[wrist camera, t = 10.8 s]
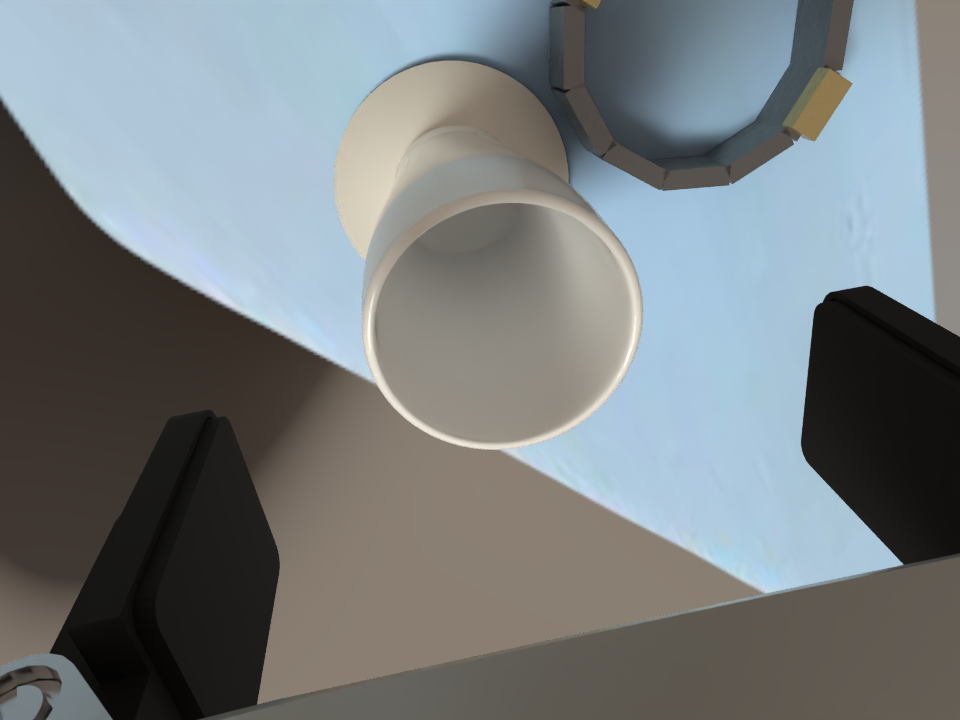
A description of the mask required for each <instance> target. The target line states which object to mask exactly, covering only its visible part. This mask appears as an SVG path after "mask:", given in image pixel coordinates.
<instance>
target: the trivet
mask: <svg viewBox="0 0 960 720" xmlns="http://www.w3.org/2000/svg"><path fill="white" fill-rule="evenodd" d="M449 125H465V126H471V127H475V128H478V129H481V130H483V131H485V132H488V133H489V134H491V135H493V136H494V137H495V138H497V139H498V140H499V141H500V142H501V143H502V144H504V145H505V146H507V147H509V148H511V149H513V150H515V151H516V152H519V153H521V154H523V155H525V156H527V157H529V158H531V159H533V160H534V161H536V162H538V163H540V164H541V165H543V166H545V167H546V168H548V169H550V170H551V171H553V172H554V173H556V174H557V175H558V176H560V177H561V178H562V179H564V180H565V181H566V182H567V183H569V175H568V162H567V157H566V152H565V147H564V144H563V141H562V138H561V135H560V133H559V131H558V129H557V127H556V125H555V123H554V121H553V119H552V117H551V116H550V114H549V113H548V111H547V110H546V108H545V107H544V106H543V104H542V103H541V102H540V101H539V100H538V99H537V98H536V96H535V95H534V94H533V93H532V92H530V91H529V90H528V89H527V88H526V87H525V86H523V85H522V84H521V83H519V82H518V81H516V80H515V79H513V78H512V77H510V76H509V75H507V74H504V73H502V72H500V71H498V70H496V69H494V68H491V67H488V66H485V65H481V64H478V63H474V62H467V61H460V60H442V61H435V62H428V63H424V64H421V65H417V66H414V67H411V68H408V69H406V70H404V71H402V72H400V73H397V74H396V75H394V76H392V77H391V78H389V79H388V80H386V81H385V82H383V83H382V84H381V85H379V86H378V87H377V88H376V89H375V90H374V91H372V92H371V93H370V94H369V95H368V97H367V98H366V99H365V100H364V101H363V102H362V103H361V104H360V106H359V107H358V109H357V110H356V112H355V113H354V115H353V116H352V118H351V119H350V121H349V123H348V125H347V127H346V130H345V132H344V134H343V136H342V139H341V142H340V145H339V148H338V152H337V158H336V163H335V173H334V188H335V199H336V204H337V208H338V213H339V216H340V219H341V222H342V224H343V227H344V229H345V231H346V233H347V235H348V237H349V239H350V241H351V243H352V244H353V246H354V247H355V249H356V250H357V252H358V253H359V254H360V256H361V257H362V258H363V259H364V260H365V261H366V257H367V251H368V247H369V244H370V240H371V236H372V233H373V230H374V227H375V225H376V222H377V220H378V217H379V215H380V213H381V210H382V208H383V206H384V204H385V202H386V200H387V197H388V195H389V193H390V191H391V189H392V186H393V182H394V177H395V173H396V169H397V167H398V164H399V162H400V160H401V158H402V156H403V155H404V153H405V152H406V151H407V149H408V148H409V147H410V146H411V145H412V144H413V143H414V142H415V141H416V140H417V139H418V138H420V137H421V136H423V135H424V134H426V133H428V132H430V131H432V130H434V129H437V128H440V127H444V126H449Z"/></svg>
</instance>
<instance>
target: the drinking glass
mask: <svg viewBox="0 0 960 720" xmlns="http://www.w3.org/2000/svg"><path fill="white" fill-rule="evenodd" d="M642 321H643V302H642V293H641V287H640V283H639V279H638V276H637V272H636V270H635V267H634V265H633V262H632V260H631V258H630V256H629V255H628V253H627V251H626V249H625V248H624V246H623V245H622V243H621V242H620V240H619V239H618V238H617V236H616V235H615V234H614V233H613V232H612V230H611V229H610V227H609V226H608V225H607V223H606V222H605V221H604V220H603V218H602V217H601V216H600V215H599V214H598V213H597V211H596V210H595V209H594V208H593V207H592V206H591V205H590V203H589V202H588V201H587V200H586V199H585V198H584V197H583V196H582V195H581V194H580V193H579V192H577V191H576V190H575V189H574V188H573V187H572V186H571V185H570V184H569V183H567V182H566V181H565V180H564V179H562V178H561V177H560V176H558V175H557V174H556V173H554V172H553V171H551V170H550V169H548V168H546V167H545V166H543V165H541V164H540V163H538V162H536V161H534V160H533V159H531V158H529V157H527V156H525V155H523V154H521V153H519V152H516V151H515V150H513V149H511V148H509V147H507V146H505V145H504V144H502V143H501V142H500V141H499V140H498V139H497V138H495V137H494V136H493V135H491V134H489V133H488V132H485V131H483V130H481V129H478V128H475V127H471V126H465V125H449V126H444V127H440V128H437V129H434V130H432V131H430V132H428V133H426V134H424V135H423V136H421V137H420V138H418V139H417V140H416V141H415V142H414V143H413V144H412V145H411V146H410V147H409V148H408V149H407V151H406V152H405V153H404V155H403V156H402V158H401V160H400V162H399V164H398V167H397V169H396V173H395V177H394V182H393V186H392V189H391V191H390V193H389V195H388V197H387V200H386V202H385V204H384V206H383V208H382V210H381V213H380V215H379V217H378V220H377V222H376V225H375V227H374V230H373V233H372V236H371V240H370V244H369V247H368V251H367V257H366V262H365V268H364V276H363V289H362V339H363V345H364V351H365V355H366V359H367V363H368V365H369V368H370V371H371V373H372V376H373V378H374V380H375V381H376V383H377V385H378V387H379V389H380V390H381V392H382V393H383V395H384V396H385V398H386V399H387V400H388V401H389V402H390V404H391V405H392V406H393V407H394V408H395V409H396V410H397V411H398V412H399V413H400V414H401V415H402V416H403V417H404V418H406V419H407V420H408V421H409V422H410V423H412V424H413V425H415V426H416V427H418V428H419V429H421V430H422V431H424V432H426V433H428V434H430V435H432V436H434V437H436V438H438V439H441V440H444V441H446V442H449V443H452V444H455V445H460V446H464V447H469V448H476V449H489V450H498V449H512V448H519V447H524V446H530V445H533V444H537V443H540V442H543V441H546V440H549V439H551V438H554V437H556V436H558V435H560V434H563V433H565V432H567V431H568V430H570V429H572V428H574V427H575V426H577V425H578V424H580V423H581V422H583V421H584V420H586V419H587V418H588V417H589V416H591V415H592V414H593V413H594V412H596V411H597V410H598V409H599V408H600V407H601V406H602V405H603V404H604V403H605V402H606V401H607V400H608V399H609V397H610V396H611V395H612V394H613V393H614V392H615V390H616V389H617V387H618V386H619V385H620V383H621V382H622V380H623V378H624V377H625V375H626V373H627V372H628V370H629V368H630V365H631V363H632V361H633V359H634V356H635V353H636V351H637V348H638V344H639V340H640V336H641V330H642Z"/></svg>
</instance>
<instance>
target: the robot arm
mask: <svg viewBox="0 0 960 720" xmlns="http://www.w3.org/2000/svg"><path fill="white" fill-rule="evenodd" d="M801 447H802V452H803V455H804V457H805V459H806V461H807V462H808V464H809V465H810V466H811V467H812V468H813V469H814V470H815V471H816V472H817V473H818V474H819V475H820V477H821V478H822V479H823V480H824V481H825V482H826V483H827V484H828V485H829V486H830V487H831V488H832V489H833V490H834V491H835V492H836V493H837V494H838V496H839V497H840V498H841V499H842V500H843V501H844V502H845V503H846V504H847V505H848V506H849V507H850V508H851V509H852V510H853V511H854V512H855V513H856V515H857V516H858V517H859V518H860V519H861V520H862V521H863V522H864V523H865V524H866V525H867V526H868V527H869V528H870V529H871V530H872V531H873V533H874V534H875V535H876V536H877V537H878V538H879V539H880V540H881V541H882V542H883V543H884V544H885V545H886V546H887V547H888V548H889V549H890V550H891V552H892V553H893V554H894V555H895V556H896V557H897V558H898V559H899V560H900V561H901V562H902V563H903V564H904V565H901V566H897V567H892V568H887V569H882V570H877V571H872V572H868V573H863V574H858V575H853V576H848V577H843V578H838V579H834V580H829V581H824V582H819V583H814V584H809V585H805V586H800V587H795V588H790V589H786V590H781V591H776V592H771V593H767V594H762V595H758V596H752V597H748V598H743V599H738V600H734V601H729V602H724V603H719V604H715V605H710V606H705V607H701V608H696V609H691V610H686V611H682V612H677V613H673V614H668V615H663V616H658V617H653V618H649V619H644V620H639V621H635V622H630V623H625V624H621V625H616V626H612V627H607V628H602V629H598V630H593V631H588V632H583V633H579V634H574V635H569V636H565V637H560V638H555V639H552V640H546V641H542V642H537V643H533V644H528V645H524V646H519V647H515V648H510V649H505V650H501V651H496V652H492V653H487V654H482V655H478V656H473V657H469V658H464V659H460V660H455V661H450V662H446V663H441V664H437V665H432V666H427V667H423V668H418V669H414V670H409V671H405V672H400V673H395V674H391V675H387V676H382V677H377V678H373V679H368V680H363V681H359V682H355V683H350V684H345V685H341V686H336V687H332V688H327V689H323V690H318V691H314V692H309V693H305V694H300V695H295V696H291V697H287V698H282V699H278V700H274V701H270V702H266V703H262V704H258V705H257V701H258V695H259V689H260V683H261V677H262V671H263V665H264V659H265V653H266V647H267V641H268V635H269V630H270V624H271V617H272V612H273V606H274V599H275V594H276V588H277V582H278V576H279V568H280V562H279V554H278V550H277V546H276V544H275V541H274V538H273V535H272V533H271V530H270V527H269V525H268V522H267V520H266V517H265V514H264V511H263V509H262V506H261V503H260V501H259V498H258V495H257V493H256V490H255V487H254V484H253V482H252V479H251V477H250V474H249V471H248V468H247V466H246V463H245V461H244V458H243V455H242V453H241V450H240V447H239V444H238V442H237V439H236V437H235V434H234V431H233V428H232V426H231V424H230V421H229V420H228V419H227V417H225V416H223V417H218V418H217V417H216V416H215V414H214V413H213V412H212V411H211V410H204V411H200V412H194V413H189V414H184V415H178V416H173V417H171V418H170V419H169V420H168V421H167V423H166V425H165V428H164V429H163V431H162V433H161V436H160V438H159V439H158V442H157V443H156V446H155V447H154V449H153V452H152V453H151V455H150V457H149V459H148V461H147V463H146V465H145V468H144V469H143V471H142V474H141V475H140V477H139V480H138V481H137V484H136V485H135V488H134V490H133V491H132V493H131V496H130V497H129V499H128V501H127V503H126V506H125V508H124V510H123V512H122V514H121V515H120V516H119V518H118V519H117V521H116V522H115V524H114V526H113V528H112V530H111V532H110V534H109V536H108V538H107V540H106V542H105V544H104V546H103V548H102V550H101V552H100V554H99V556H98V558H97V560H96V562H95V564H94V566H93V568H92V570H91V572H90V574H89V576H88V577H87V580H86V581H85V583H84V585H83V587H82V589H81V591H80V594H79V595H78V598H77V599H76V601H75V603H74V605H73V607H72V610H71V612H70V614H69V615H68V617H67V619H66V621H65V623H64V625H63V627H62V630H61V631H60V633H59V635H58V638H57V639H56V641H55V643H54V645H53V647H52V649H51V651H50V653H45V654H37V655H30V656H26V657H23V658H20V659H18V660H15V661H12V662H9V663H7V664H5V665H3V666H1V667H0V720H960V337H959V336H957V335H956V334H953V333H952V332H950V331H948V330H947V329H945V328H943V327H941V326H940V325H938V324H936V323H934V322H933V321H931V320H929V319H927V318H926V317H924V316H922V315H920V314H918V313H917V312H915V311H913V310H911V309H910V308H908V307H906V306H904V305H903V304H901V303H899V302H897V301H896V300H894V299H892V298H890V297H888V296H887V295H885V294H883V293H881V292H880V291H878V290H876V289H874V288H873V287H870V286H862V287H856V288H851V289H846V290H840V291H835V292H830V293H829V294H828V295H826V297H825V299H824V300H823V303H820V304H819V305H817V307H816V309H815V312H814V318H813V328H812V338H811V348H810V357H809V367H808V377H807V387H806V397H805V407H804V417H803V427H802V437H801Z"/></svg>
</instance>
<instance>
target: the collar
mask: <svg viewBox="0 0 960 720" xmlns="http://www.w3.org/2000/svg"><path fill="white" fill-rule="evenodd" d="M853 1H854V0H799V3H798V10H797V18H796V25H795V33H794V40H793V48H792V55H791V63H790V66H789V67H788V69H787V71H786V72H785V74H784V75H783V77H782V79H781V80H780V82H779V84H778V85H777V87H776V88H775V90H774V92H773V93H772V95H771V96H770V98H769V100H768V101H767V103H766V105H765V106H764V108H763V109H762V111H761V113H760V114H759V116H758V117H757V119H756V121H755V122H754V123H752V124H751V125H749V126H747V127H746V128H744V129H743V130H741V131H740V132H738V133H737V134H735V135H734V136H732V137H731V138H729V139H728V140H726V141H725V142H723V143H722V144H720V145H719V146H717V147H716V148H714V149H713V150H711V151H710V152H708V153H707V154H705V155H703V156H692V157H680V158H667V159H655V160H647V159H645V158H643V157H641V156H639V155H638V154H636V153H634V152H632V151H630V150H628V149H627V148H625V147H623V146H621V145H619V144H617V143H616V142H615V141H614V139H613V137H612V135H611V133H610V132H609V130H608V128H607V126H606V124H605V122H604V120H603V118H602V117H601V115H600V113H599V111H598V109H597V107H596V105H595V104H594V102H593V100H592V98H591V96H590V94H589V92H588V90H587V89H586V87H585V85H584V69H585V8H586V7H588V8H589V9H597V8H598V6H599V4H600V2H601V0H552V1H551V3H550V4H552V5H554V6H555V7H552V8H549V16H550V85H552V86H554V87H553V88H551V89H552V91H553V93H554V95H555V96H556V98H557V100H558V102H559V103H560V105H561V107H562V109H563V111H564V112H565V114H566V116H567V118H568V120H569V121H570V123H571V125H572V127H573V128H574V130H575V132H576V134H577V136H578V137H579V139H580V141H581V143H582V145H583V146H584V147H585V148H586V150H588V151H590V152H591V153H593V154H594V155H596V156H598V157H599V158H601V159H602V160H604V161H606V162H608V163H610V164H612V165H614V166H615V167H617V168H619V169H621V170H623V171H625V172H627V173H629V174H630V175H632V176H634V177H636V178H638V179H640V180H642V181H644V182H645V183H647V184H649V185H651V186H653V187H655V188H657V189H659V190H660V189H661V190H663V191H666V190H678V189H690V188H702V187H714V186H725V185H729V182H730V183H732V184H733V183H735V182H736V181H738V180H740V179H741V178H743V177H744V176H746V175H747V174H749V173H750V172H752V171H753V170H755V169H757V168H758V167H760V166H761V165H763V164H764V163H766V162H767V161H769V160H770V159H772V158H774V157H775V156H777V155H778V154H780V153H781V152H783V151H784V150H786V149H787V148H789V147H791V146H792V145H794V143H793V141H792V140H794V141H797V140H798V139H799V137H800V136H801V137H802V138H804V139H808V140H811V141H815V140H816V139H817V137H818V136H819V134H820V132H821V131H822V129H823V128H824V126H825V125H826V123H827V122H828V120H829V119H830V117H831V116H832V114H833V113H834V111H835V110H836V108H837V107H838V105H839V104H840V102H841V101H842V99H843V98H844V96H845V95H846V93H847V91H848V90H849V88H850V87H851V85H852V84H853V83H851V82H850V81H848V80H847V79H845V78H844V77H842V76H840V74H839V73H838V72H836V70H842V67H843V61H844V55H845V49H846V43H847V37H848V31H849V25H850V19H851V13H852V7H853Z"/></svg>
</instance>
